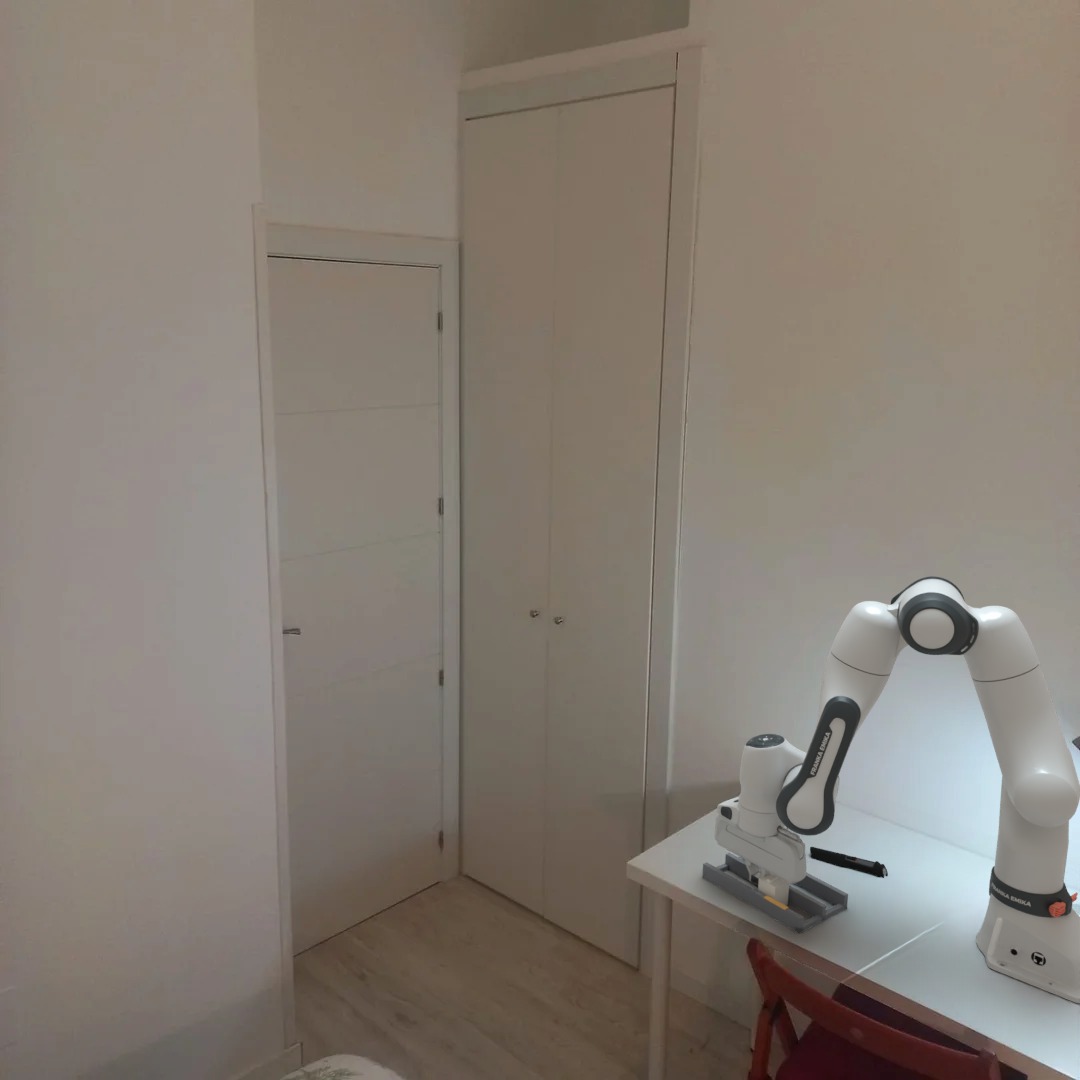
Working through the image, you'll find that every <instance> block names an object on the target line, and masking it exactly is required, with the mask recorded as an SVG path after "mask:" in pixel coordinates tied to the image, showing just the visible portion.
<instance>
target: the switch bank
mask: <svg viewBox="0 0 1080 1080" xmlns="http://www.w3.org/2000/svg"><path fill="white" fill-rule="evenodd" d="M724 858H725V859H724V861H725V862H724V863H721V864H720V865H718V866H714V865H713V864H710V863H709V862H704V863H702V878H703V879H705V880H706V881H708V882H710V883H712V884H713V885H715V886H717V887H718V888H720V889H721V890H724V891H725V892H727V893H729V894H730V895H732V896H734V897H736V898H737V899H739V900H741V901H743V902H744V903H745V904H747V905H750V906H751V907H753V908H754V909H756V910H758V911H760V912H761V913H763V914H765V915H766V916H768V917H770V918H772V919H773V920H775V921H777V922H778V923H780V924H782V925H784V926H786V927H787V928H789V929H790V930H792V931H793V932H796V933H798V934H802V933H803V932H805V931H807V930H808V929H810V928H813V927H815V926H816V925H819V924H820V923H822V922H824V921H825V920H827V919H831V917H834V916H835V915H837V914H840V913H841V912H843V911H845V910H846V909H848V900H849V899H848V898H849V894H848V893H847V892H845V891H843V890H841V889H839V888H837V887H835V886H833V885H832V884H831V883H828V882H826V881H824V880H822V879H820V878H818V877H816V876H814V875H812V874H811V873H808V872H807V871H806V877H805V878H804V879H803V880H801V881H799V882H797V883H795V886H798V887H800V888H802V889H803V890H806V891H807V892H809V893H811V894H813V895H815V896H817V897H818V898H821V899H822V900H825V902H828V903H829V904H832V905H833V906H831V907H829V908H828V909H827V905H826V904H825V903H823V902H822V901H819V900H817V899H815V898H814V897H811V896H810V895H808V894H806V893H804V892H803V891H801V890H800V889H797V888H795V887H793V886H791V884H789V893H788V904H790V905H791V906H793V907H795V908H796V909H798V910H800V911H802V912H804V913H806V914H808V915H810V918H809V919H806V920H804V919H805V918H804V916H803V915H801V914H799V913H797V911H794V910H792V909H790V908H789V906H788V905H787V906H786V905H784V904H782V903H780V902H778V901H777V900H775V899H773V898H771V897H770V896H768V895H767V896H766V895H764V894H762V893H760V892H759V891H758V889H755V888H753V887H751V886H750V885H748V884H746V883H744V882H742V881H741V880H739V879H737V878H735V877H734V876H732V875H730V874H728V873H727V871H730V872H732V873H734V874H736V875H738V876H739V877H741V878H743V879H745V880H747V881H748V882H750V881H749V872H748V870H747V867H746V865H745V861H744V860H743V858H742V857H740V856H738V857H737V855H735V854H733V853H732V852H727V853H725V857H724ZM757 870H758V872H759V873H760V874H761V873H762V872H760V871H759V869H758V868H757ZM754 885H755V886H757V885H756V884H754Z"/></svg>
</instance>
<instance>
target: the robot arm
mask: <svg viewBox="0 0 1080 1080" xmlns="http://www.w3.org/2000/svg"><path fill="white" fill-rule="evenodd" d="M907 646H909V647H910V648H911V649H913V650H915V651H916V652H918V653H921V654H924V655H931V656H943V655H947V656H948V655H949V656H963V657H964V659H965V662H966V664H967V668H968V670H969V674H970V676H971V679H972V683H973V685H974V689H975V691H976V695H977V698H978V701H979V703H980V707H981V709H982V712H983V715H984V718H985V722H986V725H987V727H988V731H989V734H990V735H989V736H990V739H991V742H992V746H993V749H994V753H995V756H996V759H997V762H998V765H999V770H1000V773H1001V776H1002V777H1001V784H1000V785H1001V786H1000V787H1001V788H1000V798H999V799H1000V800H999V801H1000V802H999V814H998V815H999V816H998V819H999V820H998V833H997V841H996V842H997V843H996V849H995V859H994V866H992V868H991V872H990V878H989V885H988V886H989V887H988V895H989V899H988V905H987V909H986V912H985V916H984V918H983V919H984V920H982V921H983V922H982V925H981V927H980V929H979V931H978V932H977V935H976V937H975V938H976V939H975V941H976V945H977V947H978V949H979V950H980V951H981V952H982V954H983V955H984V957H985V962H986V965H987V967H988V968H990V969H992V970H993V971H996V972H999V973H1001V974H1003V975H1006V976H1008V977H1011V978H1014V979H1016V980H1019V981H1020V982H1024V983H1025V984H1028V985H1031V986H1034V987H1036V988H1038V989H1041V990H1043V991H1045V992H1048V993H1051V994H1053V995H1056V996H1058V997H1061V998H1062V999H1066V1000H1068V1001H1071V1002H1073V1003H1076V1004H1080V915H1079V914H1078V913H1077V912H1076V911H1075V909H1073V903H1074V902H1075V901H1076V900H1078V894H1079V893H1078V892H1075V893H1073V894H1071V895H1070V893H1069V891H1068V889H1067V888H1068V887H1067V886H1066V883H1065V873H1066V866H1067V858H1068V850H1069V844H1070V843H1069V842H1070V839H1069V833H1070V831H1069V830H1070V829H1069V828H1070V820H1071V819H1072V818H1073V817H1074V815H1075V814H1076V812H1077V809H1078V806H1079V803H1080V781H1079V777H1078V774H1077V771H1076V766H1075V764H1074V759H1073V757H1072V753H1071V750H1070V749H1069V747H1068V745H1067V742H1066V738H1065V735H1064V732H1063V729H1062V726H1061V723H1060V720H1059V717H1058V714H1057V711H1056V707H1055V704H1054V701H1053V698H1052V696H1051V693H1050V689H1049V686H1048V683H1047V681H1046V677H1045V674H1044V671H1043V669H1042V665H1041V662H1040V658H1039V656H1038V654H1037V651H1036V649H1035V646H1034V644H1033V642H1032V639H1031V638H1030V635H1029V633H1028V631H1027V629H1026V628H1025V626H1024V624H1023V622H1022V621H1021V618H1020V616H1019V615H1018V614H1017V613H1016V612H1015V611H1013V610H1012V609H1011V608H1009V607H1006V606H1001V605H987V606H986V605H985V606H983V607H973V606H971V605H968V604H967V603H966V601H965V598H964V595H963V592H962V591H961V590H960V588H959V587H958V586H957V585H956V584H955V583H953V582H952V581H950V580H949V579H946V578H944V577H941V576H935V575H934V576H925V577H921V578H920V579H917V580H915V581H914V582H912V583H911V584H909V585H907V586H906V587H905V588H904V589H902V591H900V592H899V593H897V594H896V595H894V596H893V597H892V598H891V601H890V604H887V603H883V602H880V601H875V600H864V601H861V602H858V603H857V604H855V605H854V606H853V607H852V608H851V609H850V610H849V613H847V616H846V617H845V619H844V620H843V622H842V624H841V626H840V628H839V629H838V631H837V633H836V635H835V637H834V640H833V642H832V644H831V647H830V650H829V652H828V655H827V658H826V661H825V664H824V665H825V666H824V669H823V673H822V674H823V675H822V679H821V680H822V681H821V687H820V696H819V706H818V707H819V708H818V714H817V715H818V716H817V720H816V725H815V730H814V732H813V736H812V739H811V742H810V744H809V746H808V749H807V752H805V751H804V750H801V749H799V748H798V747H795V746H794V745H793V744H792V743H790V742H789V741H788V739H786V737H783V736H782V735H779V734H776V733H764V734H759V735H756V736H753V737H751V738H749V740H748V741H746V743H745V745H744V746H743V749H742V754H741V759H740V760H741V761H740V769H739V783H740V794H739V796H736V797H734V798H731V799H727V800H725V801H722V802H721V803H718V804H717V808H716V810H717V816H716V818H715V823H714V840H715V842H716V844H717V845H718V846H719V847H721V848H724V849H726V850H727V851H729V852H730V853H732V854H734V855H735V856H738V857H742V858H744V859H745V865H746V867H747V870H748V872H749V881H748V882H750V883H752V884H754V885H755V884H756V885H755V886H757V887H758V884H759V878H761V877H763V876H765V875H768V874H770V873H772V874H773V875H775V876H777V877H779V878H781V879H783V880H785V881H786V882H788V883H789V885H794V884H795V883H797V882H799V881H801V880H803V879H804V878H805V877H806V872H807V858H806V844H805V843H804V841H803V840H802V839H801V837H800V835H801V836H807V837H808V836H809V837H810V836H811V837H812V836H817V835H820V834H822V833H824V832H826V831H827V830H828V829H829V828H830V827H831V826H832V824H833V822H834V820H835V812H836V808H835V807H836V802H837V797H838V793H839V792H838V791H839V787H840V776H839V775H840V772H841V769H842V767H843V764H844V762H845V759H846V756H847V753H848V751H849V749H850V746H851V743H852V741H853V740H854V738H855V736H856V734H857V733H858V731H859V730H860V728H861V726H862V724H863V722H864V721H866V718H867V717H868V715H869V713H870V712H871V711H872V710H873V707H874V706H875V704H876V703H877V702H878V700H879V698H880V696H881V694H882V693H883V691H884V689H885V687H886V685H887V684H888V681H889V679H890V676H891V674H892V671H893V669H894V666H895V663H896V661H897V658H898V657H899V656H900V653H901V652H902V651H903V650H904V649H905V648H906V647H907ZM785 826H786V827H787V828H788V830H787V829H785ZM798 834H799V835H798ZM756 865H757V866H759V871H760V872H762V873H761V874H760V873H759V872H758V870H757V866H756ZM795 885H796V884H795Z"/></svg>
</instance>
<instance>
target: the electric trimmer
mask: <svg viewBox="0 0 1080 1080" xmlns="http://www.w3.org/2000/svg"><path fill="white" fill-rule="evenodd" d="M809 853H810V857H811V858H812V859H814V860H816V861H819V862H823V863H826V864H829V865H832V866H834V867H839V868H846V869H847V868H848V869H851V870H855V871H860V872H863V873H866V874H870V875H871V874H872V875H874V876H876V877H877V878H883V879H885V877H888V875H889V873H888V872H889V871H888V869H887V868H886V866H885V864H884V863H880V862H879V861H878V860H877V861H872V860H868V859H864V858H859V857H856V856H853V855H847V854H845V853H840V852H835V851H832V850H828V849H823V848H818V847H815V846H810V848H809Z"/></svg>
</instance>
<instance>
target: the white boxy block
mask: <svg viewBox="0 0 1080 1080" xmlns="http://www.w3.org/2000/svg"><path fill="white" fill-rule="evenodd" d="M789 885H790V883H788V882H786V881H785V880H783V879H781V878H779V877H777V876H775V875H773V874H772V873H770V874H768V875H765V876H763V877H761V878H759V884H758V886H757V887H758V889H757V891H759V892H760V893H762V894H764V895H766V896H767V895H768V896H770V897H771V898H773V899H775V900H777V901H778V902H780V903H782V904H784V905H786V906H787V907H788V905H789V903H788V893H789Z"/></svg>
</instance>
